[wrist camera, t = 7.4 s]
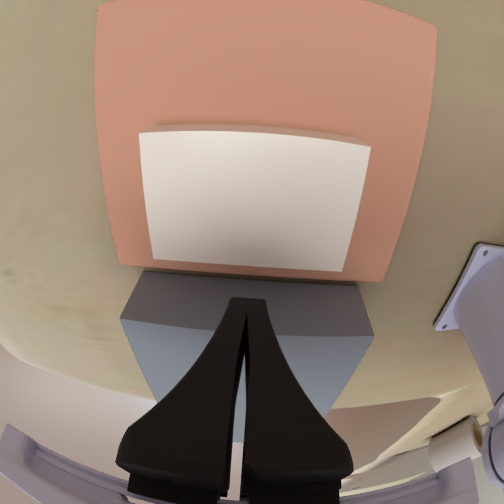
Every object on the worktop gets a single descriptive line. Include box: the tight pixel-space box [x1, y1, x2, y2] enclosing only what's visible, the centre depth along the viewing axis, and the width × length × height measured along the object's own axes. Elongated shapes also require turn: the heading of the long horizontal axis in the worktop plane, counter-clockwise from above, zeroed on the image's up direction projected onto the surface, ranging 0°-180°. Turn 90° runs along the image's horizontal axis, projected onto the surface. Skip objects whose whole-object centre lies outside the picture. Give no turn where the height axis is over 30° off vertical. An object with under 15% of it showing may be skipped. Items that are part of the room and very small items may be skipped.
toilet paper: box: [428, 416, 484, 472], centre depth 34 cm, size 10×10×10 cm
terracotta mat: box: [95, 0, 437, 282], centre depth 12 cm, size 16×15×1 cm
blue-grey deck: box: [120, 271, 374, 443], centre depth 20 cm, size 13×18×4 cm
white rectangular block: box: [139, 124, 371, 272], centre depth 12 cm, size 9×6×2 cm, turn 87°
